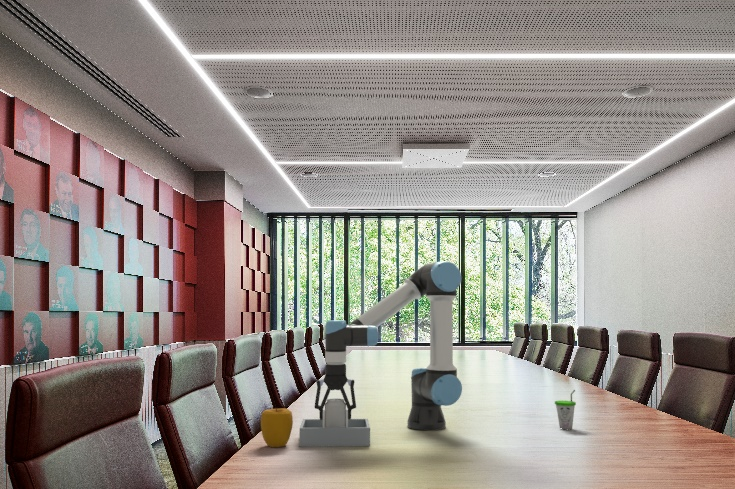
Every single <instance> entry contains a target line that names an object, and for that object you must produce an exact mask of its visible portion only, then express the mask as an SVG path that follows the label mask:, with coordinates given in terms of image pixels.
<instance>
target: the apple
mask: <svg viewBox="0 0 735 489" xmlns="http://www.w3.org/2000/svg"><path fill="white" fill-rule="evenodd" d="M293 417H294V416H293V412H292V411H291V410H290V409H288V408H286V407H284V408H277V407H275V408H271V409H270V408H269V409H265V410H263V411H262V412H261V416H260V430H261V435H262V438H263V441H264V442H265V444H266V445H267V446H268V447H270V448H282V447H284V446H287V444H288V442H289V440H290V436H291V433H292V430H293V424H294V422H293V421H294V420H293V419H294V418H293Z"/></svg>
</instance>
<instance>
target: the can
mask: <svg viewBox="0 0 735 489" xmlns="http://www.w3.org/2000/svg"><path fill="white" fill-rule="evenodd" d="M346 409H347V406H346V403H345V400H344V398H327V400H326V403H325V405H324V410H325V428H337V427H346Z"/></svg>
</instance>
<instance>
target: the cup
mask: <svg viewBox="0 0 735 489" xmlns="http://www.w3.org/2000/svg"><path fill="white" fill-rule="evenodd" d="M575 392H576V390H575V389H573V391H572V392H571V393H570V400H555V401H554V404H555V407H556V412H557V418H558V424H559V425H558V426H559V429H560V428H562V429H572V430H573V424H574V418H575V417H574V416H575V414H574V413H575V406H576V405H577V404H576V402H575V401H573V394H574V393H575ZM562 429H561V430H562Z"/></svg>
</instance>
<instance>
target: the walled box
mask: <svg viewBox="0 0 735 489" xmlns="http://www.w3.org/2000/svg"><path fill="white" fill-rule="evenodd" d="M369 421H370V420H369V419H368V418H351V419H348V427H337V428H323V420H320V418H303V419H302V420H301V423H300V426H299V443H298V445H299V447H371V426H370V422H369Z"/></svg>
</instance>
